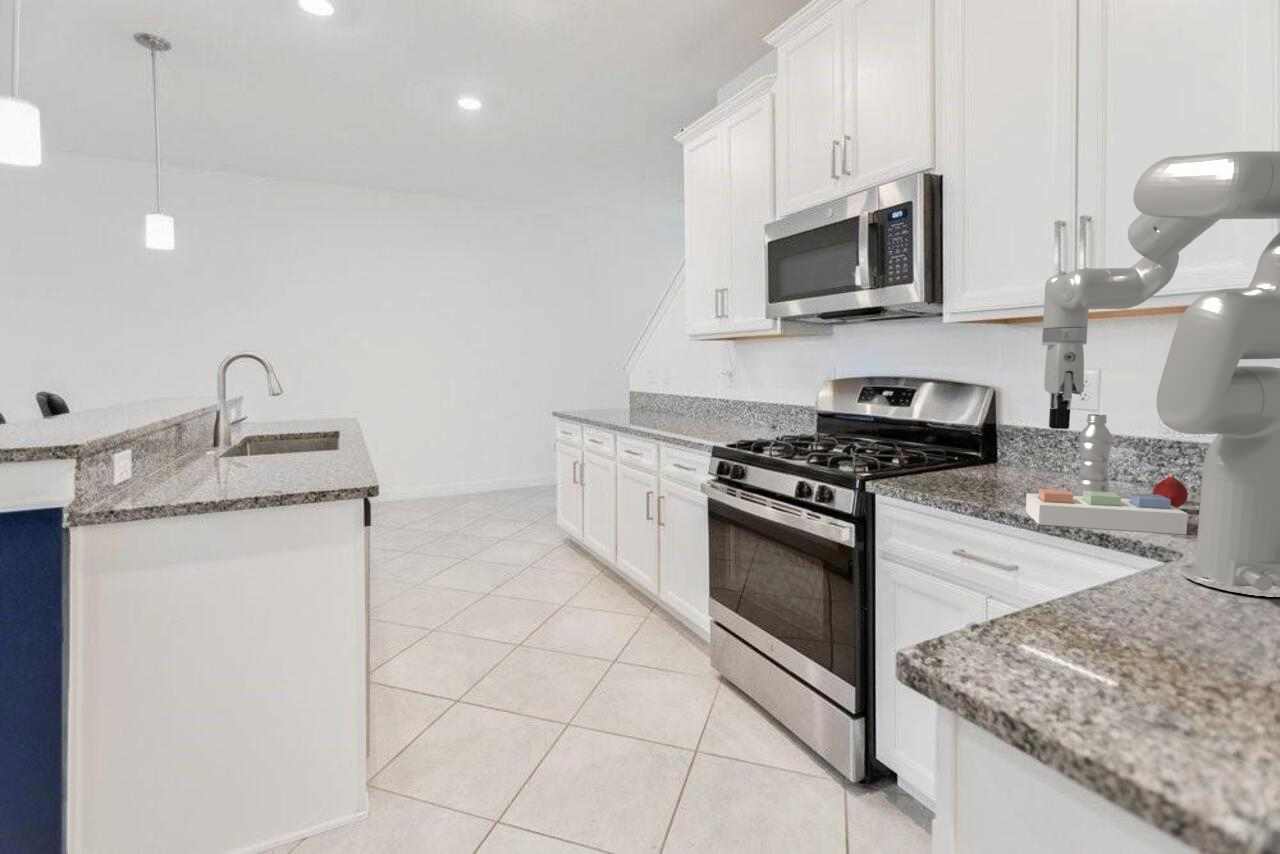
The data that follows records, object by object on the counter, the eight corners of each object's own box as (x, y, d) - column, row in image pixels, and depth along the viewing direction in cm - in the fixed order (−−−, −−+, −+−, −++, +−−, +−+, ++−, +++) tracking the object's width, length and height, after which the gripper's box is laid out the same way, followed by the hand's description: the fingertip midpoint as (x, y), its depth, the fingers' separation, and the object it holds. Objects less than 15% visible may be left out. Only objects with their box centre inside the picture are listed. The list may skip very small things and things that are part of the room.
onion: (1192, 514, 136) (1195, 477, 135) (1161, 513, 137) (1164, 476, 136) (1175, 508, 141) (1178, 472, 140) (1146, 507, 142) (1148, 471, 142)
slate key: (1169, 516, 124) (1170, 499, 123) (1138, 514, 125) (1139, 498, 125) (1158, 510, 128) (1160, 494, 128) (1128, 508, 130) (1129, 493, 130)
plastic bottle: (1081, 502, 148) (1086, 415, 146) (1071, 496, 155) (1075, 413, 153) (1113, 503, 146) (1119, 416, 144) (1102, 497, 153) (1107, 413, 151)
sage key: (1119, 513, 126) (1121, 497, 126) (1090, 511, 128) (1091, 495, 128) (1111, 507, 131) (1112, 492, 131) (1082, 506, 133) (1083, 490, 132)
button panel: (1186, 534, 120) (1187, 513, 120) (1038, 524, 128) (1039, 504, 128) (1159, 519, 131) (1161, 500, 131) (1025, 511, 140) (1026, 493, 139)
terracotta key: (1072, 510, 129) (1073, 494, 129) (1043, 508, 131) (1044, 493, 130) (1065, 505, 134) (1066, 490, 133) (1037, 503, 135) (1038, 488, 135)
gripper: (1098, 336, 121) (1092, 433, 123) (1075, 338, 135) (1069, 425, 136) (1052, 336, 123) (1046, 431, 125) (1034, 339, 137) (1029, 424, 139)
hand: (1058, 428), depth 131 cm, fingers closed
